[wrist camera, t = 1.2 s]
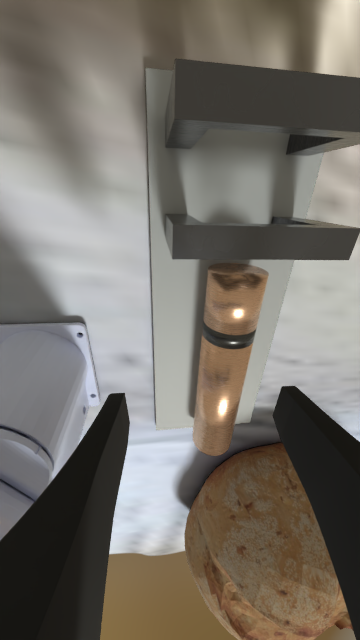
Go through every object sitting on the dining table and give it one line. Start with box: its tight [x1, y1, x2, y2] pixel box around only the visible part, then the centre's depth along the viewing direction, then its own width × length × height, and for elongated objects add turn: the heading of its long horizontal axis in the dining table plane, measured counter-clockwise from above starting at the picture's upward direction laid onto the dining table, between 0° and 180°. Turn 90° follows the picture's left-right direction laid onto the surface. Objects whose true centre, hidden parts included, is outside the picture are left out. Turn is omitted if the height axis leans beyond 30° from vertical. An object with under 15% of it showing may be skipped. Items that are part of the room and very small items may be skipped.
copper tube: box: [193, 263, 269, 456], centre depth 20 cm, size 18×4×4 cm, turn 178°
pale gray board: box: [146, 68, 324, 430], centre depth 20 cm, size 29×11×1 cm, turn 178°
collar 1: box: [165, 59, 360, 156], centre depth 11 cm, size 2×9×6 cm, turn 89°
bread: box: [185, 443, 354, 640], centre depth 30 cm, size 26×23×15 cm
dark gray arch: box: [165, 214, 360, 260], centre depth 13 cm, size 2×9×6 cm, turn 88°
